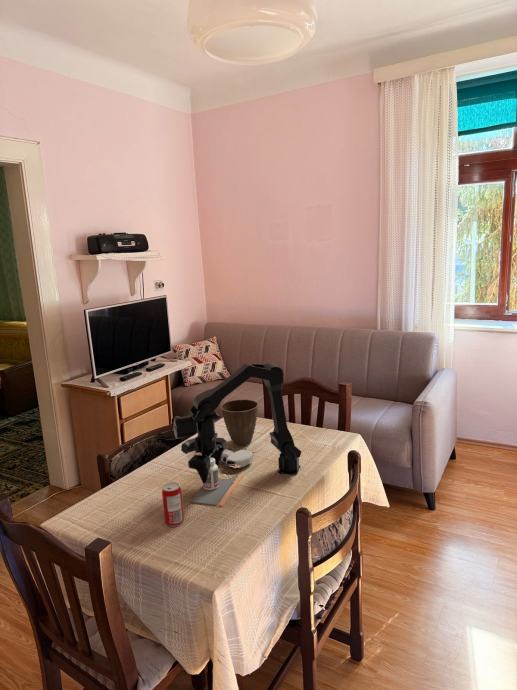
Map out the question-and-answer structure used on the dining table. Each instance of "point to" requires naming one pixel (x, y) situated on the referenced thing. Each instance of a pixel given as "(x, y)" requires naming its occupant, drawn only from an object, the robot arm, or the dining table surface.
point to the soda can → (172, 504)
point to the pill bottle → (212, 476)
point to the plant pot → (240, 420)
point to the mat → (213, 493)
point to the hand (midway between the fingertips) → (209, 476)
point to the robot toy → (237, 457)
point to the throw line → (230, 491)
